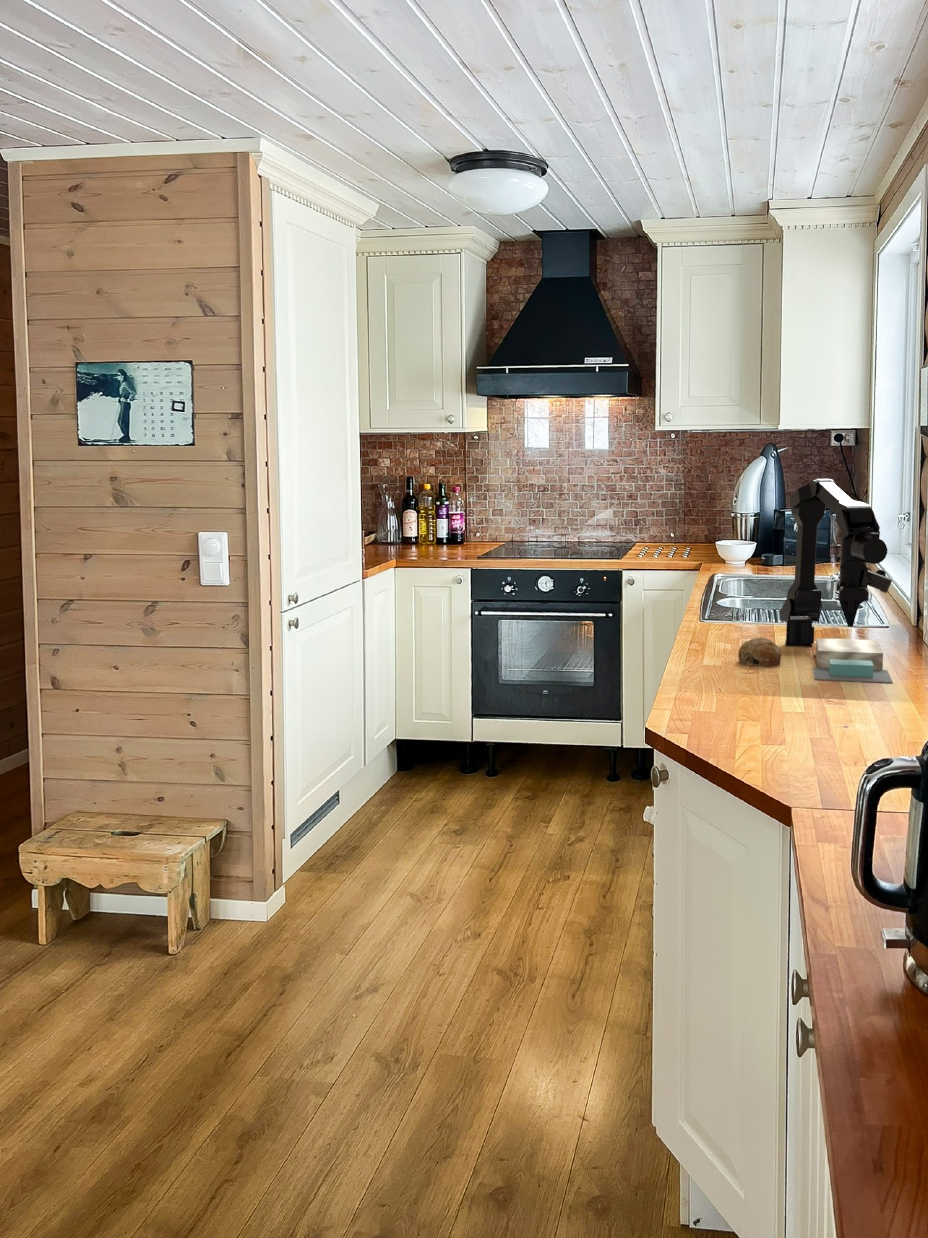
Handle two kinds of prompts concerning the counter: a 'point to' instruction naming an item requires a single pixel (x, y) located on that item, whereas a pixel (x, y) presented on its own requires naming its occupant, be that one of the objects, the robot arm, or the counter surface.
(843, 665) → the teal rectangular block
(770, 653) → the brown rounded dome
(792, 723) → the counter surface
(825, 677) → the mat
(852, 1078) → the counter surface
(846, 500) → the robot arm
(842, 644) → the board
